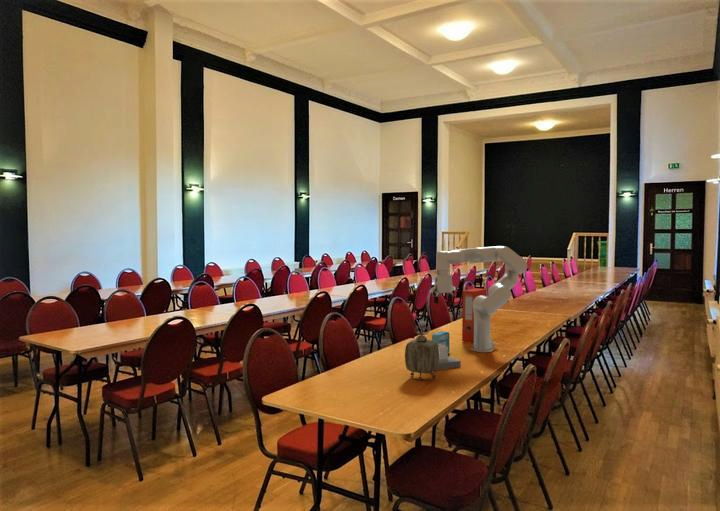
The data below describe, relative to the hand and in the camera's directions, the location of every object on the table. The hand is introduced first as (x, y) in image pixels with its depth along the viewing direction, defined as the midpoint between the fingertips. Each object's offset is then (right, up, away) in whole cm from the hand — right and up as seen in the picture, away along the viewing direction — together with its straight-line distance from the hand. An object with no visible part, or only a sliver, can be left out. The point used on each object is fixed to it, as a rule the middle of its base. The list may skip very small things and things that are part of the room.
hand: (443, 302), depth 298 cm
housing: (-7, -27, -27) cm, 39 cm away
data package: (-2, -29, -3) cm, 29 cm away
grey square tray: (-7, -30, -27) cm, 41 cm away
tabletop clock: (-19, -31, -52) cm, 63 cm away
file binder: (+25, -27, +32) cm, 48 cm away
